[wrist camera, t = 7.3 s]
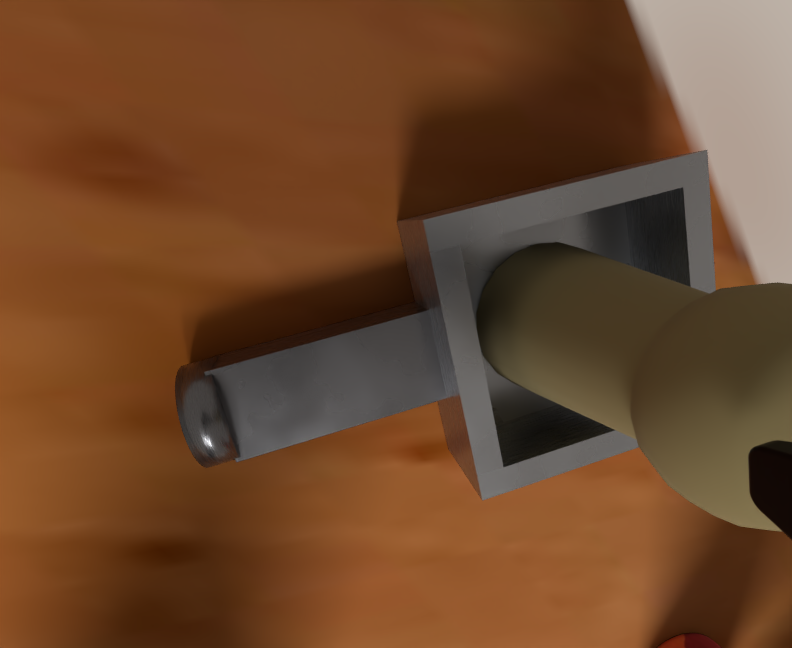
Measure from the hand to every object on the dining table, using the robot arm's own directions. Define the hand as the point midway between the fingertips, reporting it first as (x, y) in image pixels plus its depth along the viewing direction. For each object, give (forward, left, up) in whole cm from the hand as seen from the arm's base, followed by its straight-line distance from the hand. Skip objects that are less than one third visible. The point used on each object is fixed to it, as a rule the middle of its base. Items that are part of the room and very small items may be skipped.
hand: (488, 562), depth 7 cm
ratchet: (0, -3, -14) cm, 14 cm away
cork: (-1, -7, -12) cm, 14 cm away
